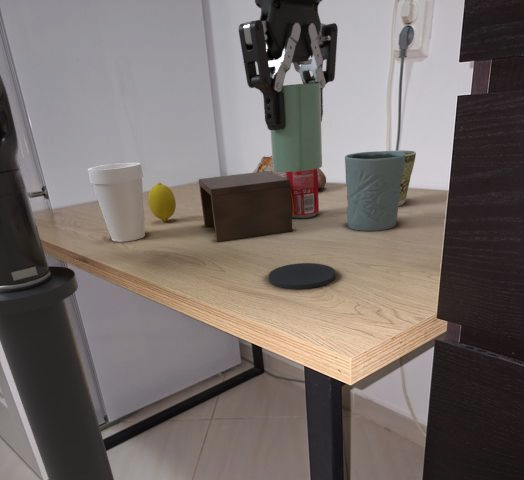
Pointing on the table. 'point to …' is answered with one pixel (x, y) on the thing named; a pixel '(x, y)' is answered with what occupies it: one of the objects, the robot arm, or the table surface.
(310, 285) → the coaster
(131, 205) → the foam cup
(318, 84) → the cup
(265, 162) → the bread
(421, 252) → the table surface
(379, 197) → the embossed teal tumbler
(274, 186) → the shelf
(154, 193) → the lemon
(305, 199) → the soda can
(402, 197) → the ceramic cup
